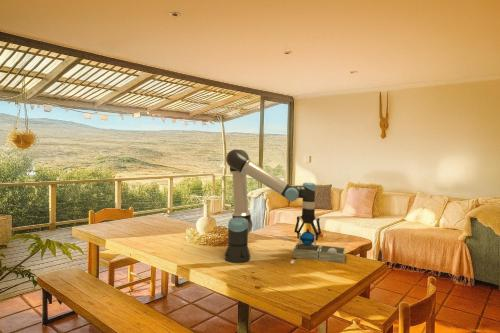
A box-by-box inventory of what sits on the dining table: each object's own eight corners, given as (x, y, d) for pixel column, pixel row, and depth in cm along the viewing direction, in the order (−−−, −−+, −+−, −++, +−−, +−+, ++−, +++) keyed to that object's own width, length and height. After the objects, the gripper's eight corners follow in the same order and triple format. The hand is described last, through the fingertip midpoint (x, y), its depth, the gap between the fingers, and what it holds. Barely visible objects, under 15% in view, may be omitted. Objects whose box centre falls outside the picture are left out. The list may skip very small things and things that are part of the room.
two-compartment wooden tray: (344, 265, 191) (345, 254, 191) (292, 258, 200) (293, 249, 199) (345, 257, 205) (345, 247, 205) (296, 252, 214) (296, 242, 214)
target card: (304, 265, 189) (304, 264, 189) (290, 263, 191) (290, 262, 191) (305, 261, 195) (305, 260, 195) (292, 260, 197) (292, 259, 197)
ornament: (317, 245, 205) (317, 229, 204) (309, 248, 198) (310, 231, 198) (305, 242, 210) (305, 226, 210) (297, 245, 204) (297, 228, 204)
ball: (337, 260, 197) (337, 249, 196) (326, 258, 198) (327, 248, 198) (337, 257, 202) (337, 247, 202) (327, 255, 204) (327, 246, 204)
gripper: (326, 208, 204) (325, 245, 205) (292, 206, 210) (290, 241, 211) (325, 210, 197) (324, 248, 198) (290, 207, 203) (288, 244, 204)
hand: (307, 244), depth 204 cm, fingers closed on ornament, 9 cm apart
